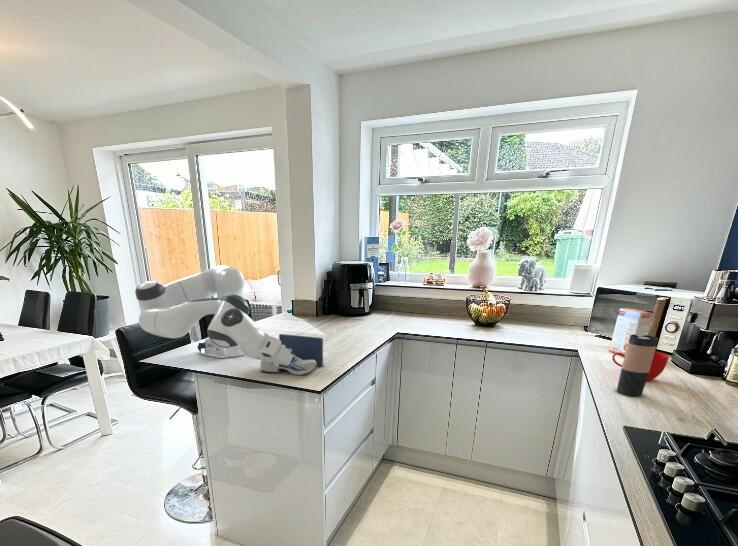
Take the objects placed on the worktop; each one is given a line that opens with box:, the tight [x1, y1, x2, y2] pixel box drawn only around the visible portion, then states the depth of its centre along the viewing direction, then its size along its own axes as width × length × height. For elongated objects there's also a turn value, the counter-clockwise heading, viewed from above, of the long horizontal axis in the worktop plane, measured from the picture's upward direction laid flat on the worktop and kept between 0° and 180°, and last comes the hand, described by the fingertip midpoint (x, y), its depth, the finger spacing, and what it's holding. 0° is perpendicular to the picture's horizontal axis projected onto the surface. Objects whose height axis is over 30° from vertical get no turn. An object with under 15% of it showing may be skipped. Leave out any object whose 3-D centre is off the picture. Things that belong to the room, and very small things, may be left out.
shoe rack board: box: [278, 333, 324, 368], centre depth 167 cm, size 20×1×12 cm, turn 69°
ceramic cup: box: [611, 350, 670, 382], centre depth 152 cm, size 13×17×10 cm
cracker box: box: [608, 307, 654, 355], centre depth 182 cm, size 14×6×21 cm, turn 179°
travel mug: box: [616, 334, 659, 398], centre depth 135 cm, size 8×8×20 cm
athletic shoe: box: [259, 345, 318, 376], centre depth 158 cm, size 10×23×12 cm, turn 89°
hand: (276, 364), depth 149 cm, fingers closed
